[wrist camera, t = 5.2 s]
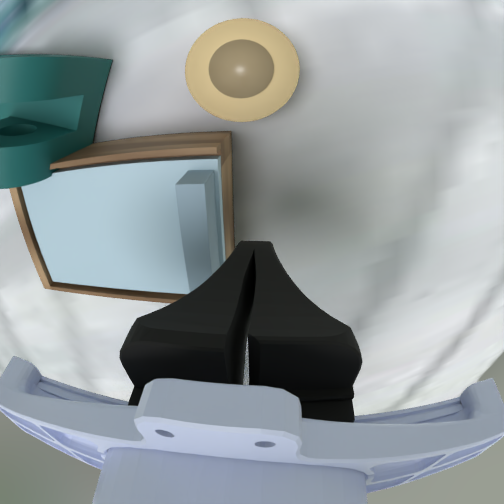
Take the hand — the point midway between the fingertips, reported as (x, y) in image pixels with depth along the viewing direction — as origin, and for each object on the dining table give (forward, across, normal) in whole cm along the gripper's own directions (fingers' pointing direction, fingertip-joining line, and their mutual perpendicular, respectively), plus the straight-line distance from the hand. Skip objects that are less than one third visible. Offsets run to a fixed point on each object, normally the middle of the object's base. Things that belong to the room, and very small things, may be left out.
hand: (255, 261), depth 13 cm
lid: (+3, +8, 0) cm, 9 cm away
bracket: (+7, +19, -10) cm, 22 cm away
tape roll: (+7, +1, -8) cm, 10 cm away
